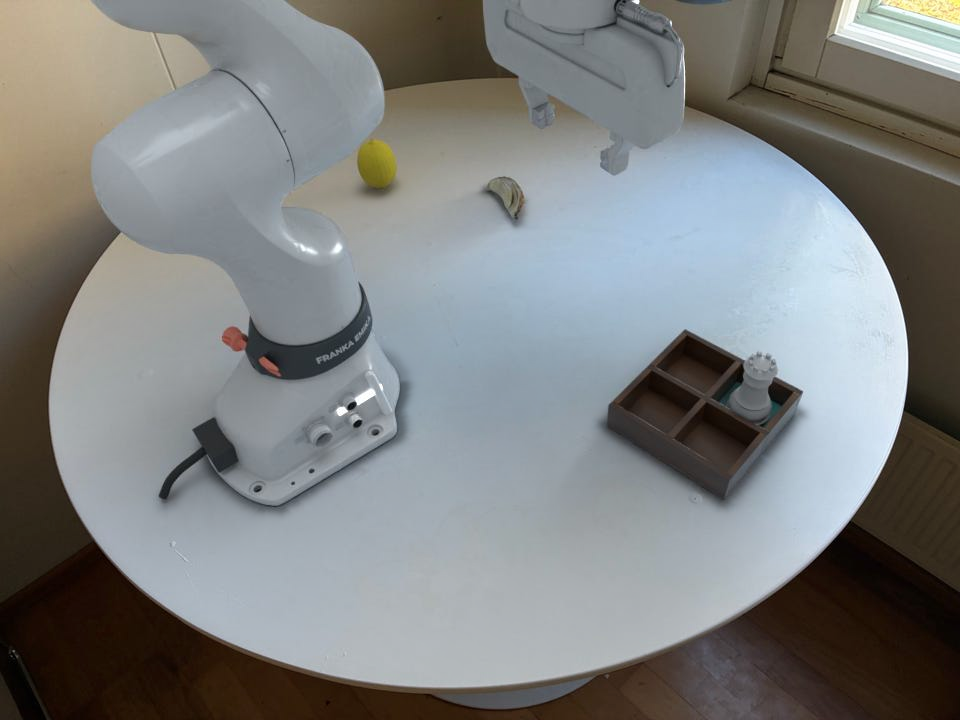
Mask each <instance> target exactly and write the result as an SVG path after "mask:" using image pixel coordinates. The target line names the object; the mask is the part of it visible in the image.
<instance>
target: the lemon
mask: <svg viewBox="0 0 960 720" xmlns="http://www.w3.org/2000/svg"><path fill="white" fill-rule="evenodd" d="M356 163H357V164H356V165H357V169H358V174H359V175H360V177H361V179H362V180H363V182H365V183H366V184H367V185H368V186H370V187H373V188H377V189H383V188H385V187H387V186H388V185H390V184H391V183H392V182H393V180H394V179H395V177H396V173H397V160H396V157H395V155H394V152H393V150H392V148H391V147H390V146H389V145H388V144H387V143H386V142H385V141H383V140H380V139H369V140H367V141H365V142H363V144H361V146H360V148H359V150H358V151H357V158H356Z"/></svg>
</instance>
